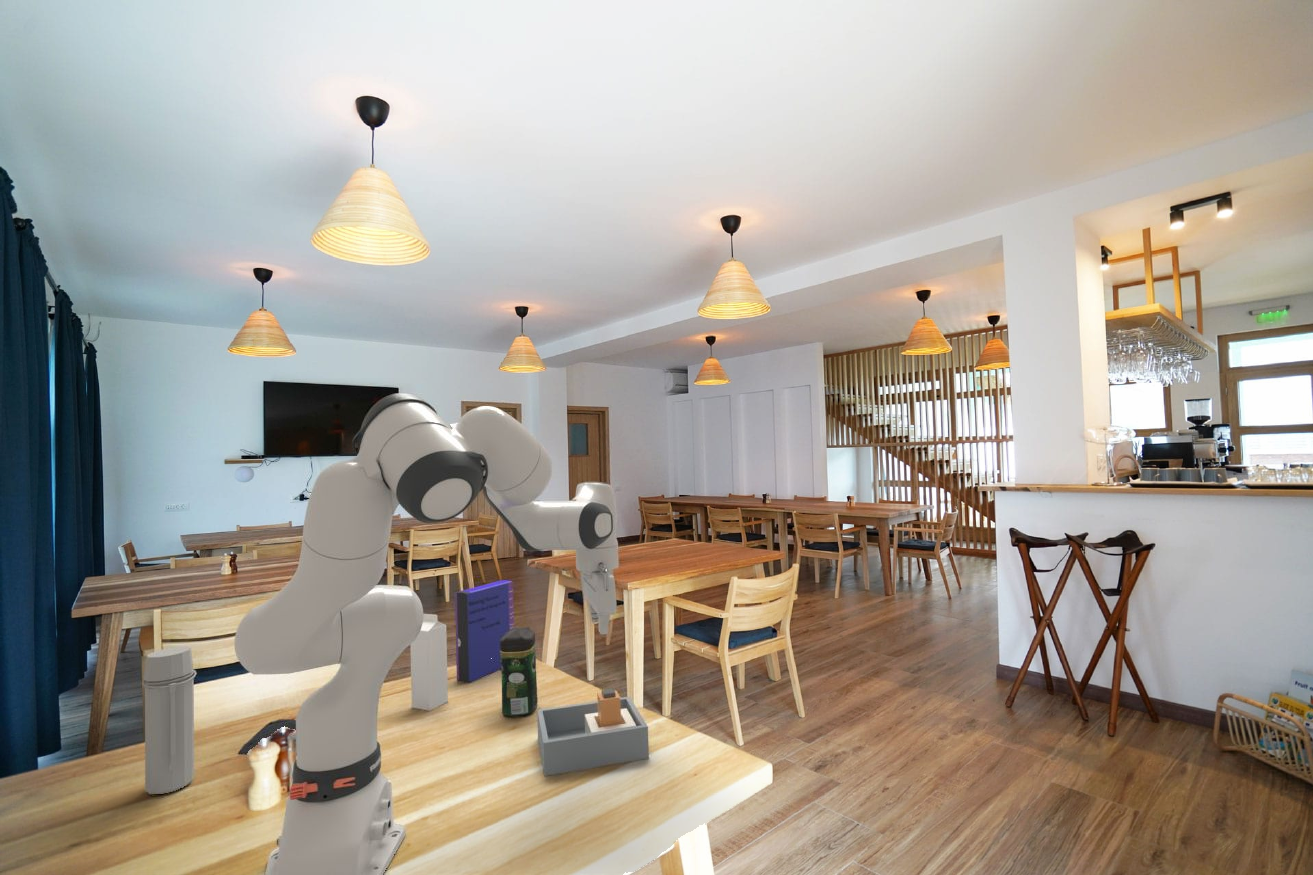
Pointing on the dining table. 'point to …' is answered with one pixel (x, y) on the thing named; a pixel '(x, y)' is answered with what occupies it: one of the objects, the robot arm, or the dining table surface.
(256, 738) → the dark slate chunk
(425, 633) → the milk
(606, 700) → the plug
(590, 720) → the socket
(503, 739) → the dining table surface
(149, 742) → the water bottle
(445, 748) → the dining table surface
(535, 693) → the coffee jar
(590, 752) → the bin
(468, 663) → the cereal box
